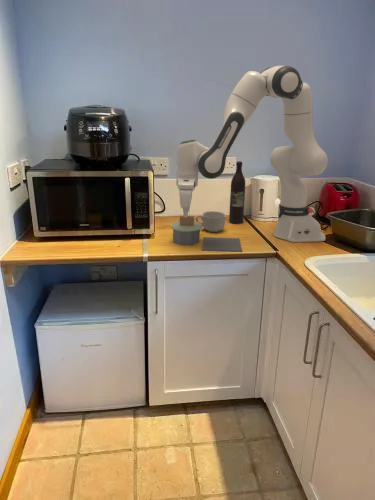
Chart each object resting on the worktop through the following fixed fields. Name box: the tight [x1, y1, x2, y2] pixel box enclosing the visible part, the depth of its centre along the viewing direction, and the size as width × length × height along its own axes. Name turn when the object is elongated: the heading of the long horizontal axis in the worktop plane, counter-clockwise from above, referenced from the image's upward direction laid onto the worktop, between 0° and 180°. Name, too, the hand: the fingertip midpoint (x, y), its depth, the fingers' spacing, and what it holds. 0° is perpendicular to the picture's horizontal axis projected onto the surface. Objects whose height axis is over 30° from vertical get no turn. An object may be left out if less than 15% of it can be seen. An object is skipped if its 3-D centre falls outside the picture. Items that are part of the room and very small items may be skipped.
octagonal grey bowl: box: [172, 229, 201, 246], centre depth 162 cm, size 11×11×6 cm
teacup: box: [194, 210, 226, 233], centre depth 177 cm, size 14×11×8 cm
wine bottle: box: [228, 161, 246, 225], centre depth 186 cm, size 7×7×30 cm
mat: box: [201, 236, 243, 253], centre depth 159 cm, size 16×16×1 cm
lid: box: [171, 215, 203, 232], centre depth 161 cm, size 13×13×4 cm
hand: (186, 214), depth 159 cm, fingers open, 8 cm apart
